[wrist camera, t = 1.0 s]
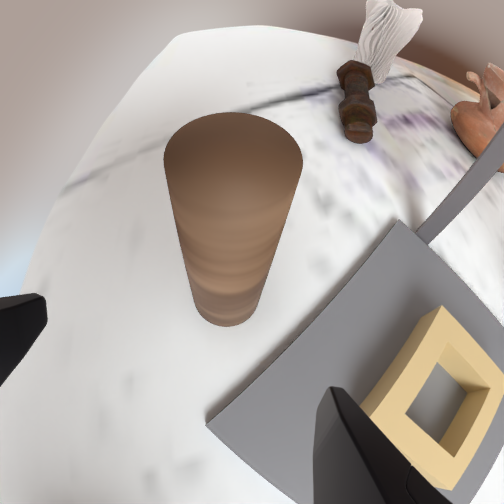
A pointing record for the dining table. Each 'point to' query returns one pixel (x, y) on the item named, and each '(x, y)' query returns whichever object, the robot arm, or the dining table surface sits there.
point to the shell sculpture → (385, 35)
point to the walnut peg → (230, 207)
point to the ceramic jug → (481, 111)
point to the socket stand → (389, 365)
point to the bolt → (357, 101)
